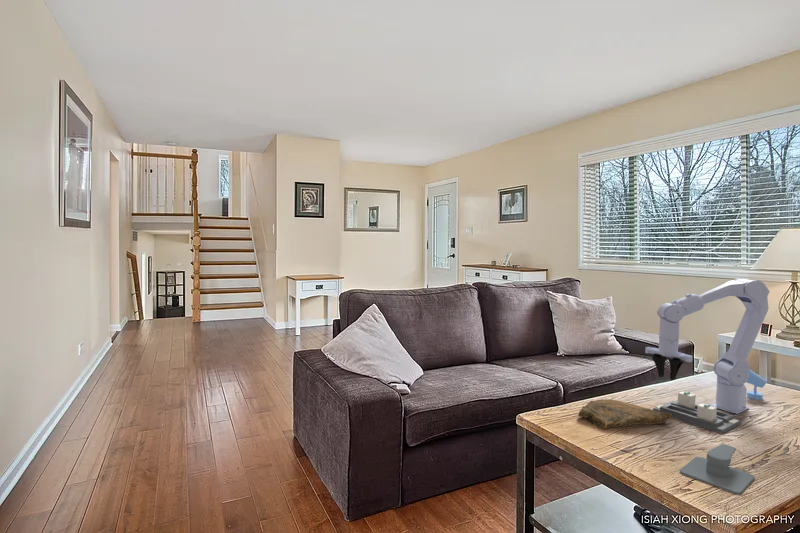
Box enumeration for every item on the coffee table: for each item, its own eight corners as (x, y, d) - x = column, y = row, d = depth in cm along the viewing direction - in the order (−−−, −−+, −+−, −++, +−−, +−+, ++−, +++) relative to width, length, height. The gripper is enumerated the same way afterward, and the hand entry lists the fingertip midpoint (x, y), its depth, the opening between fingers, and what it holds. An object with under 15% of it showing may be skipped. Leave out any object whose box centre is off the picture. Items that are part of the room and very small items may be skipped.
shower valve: (759, 454, 110) (740, 473, 101) (758, 475, 110) (739, 497, 101) (701, 436, 120) (679, 452, 110) (700, 456, 120) (678, 474, 111)
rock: (615, 394, 158) (677, 411, 141) (614, 409, 158) (676, 429, 141) (572, 402, 144) (635, 423, 127) (571, 420, 144) (634, 442, 127)
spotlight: (741, 397, 164) (765, 401, 160) (742, 370, 164) (767, 373, 160) (741, 393, 168) (765, 397, 164) (742, 367, 168) (766, 370, 164)
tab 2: (701, 417, 142) (702, 401, 141) (715, 422, 138) (716, 405, 138) (696, 419, 140) (697, 403, 140) (711, 424, 137) (712, 407, 136)
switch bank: (673, 404, 157) (673, 397, 157) (741, 424, 140) (741, 417, 140) (653, 411, 150) (653, 405, 150) (722, 433, 133) (722, 426, 133)
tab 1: (682, 404, 153) (682, 389, 153) (694, 408, 150) (695, 393, 149) (677, 406, 151) (678, 391, 151) (690, 409, 148) (691, 394, 148)
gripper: (641, 336, 159) (639, 374, 159) (685, 344, 146) (683, 385, 147) (652, 333, 162) (650, 371, 163) (696, 341, 150) (694, 382, 151)
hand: (666, 378), depth 156 cm, fingers open, 3 cm apart
